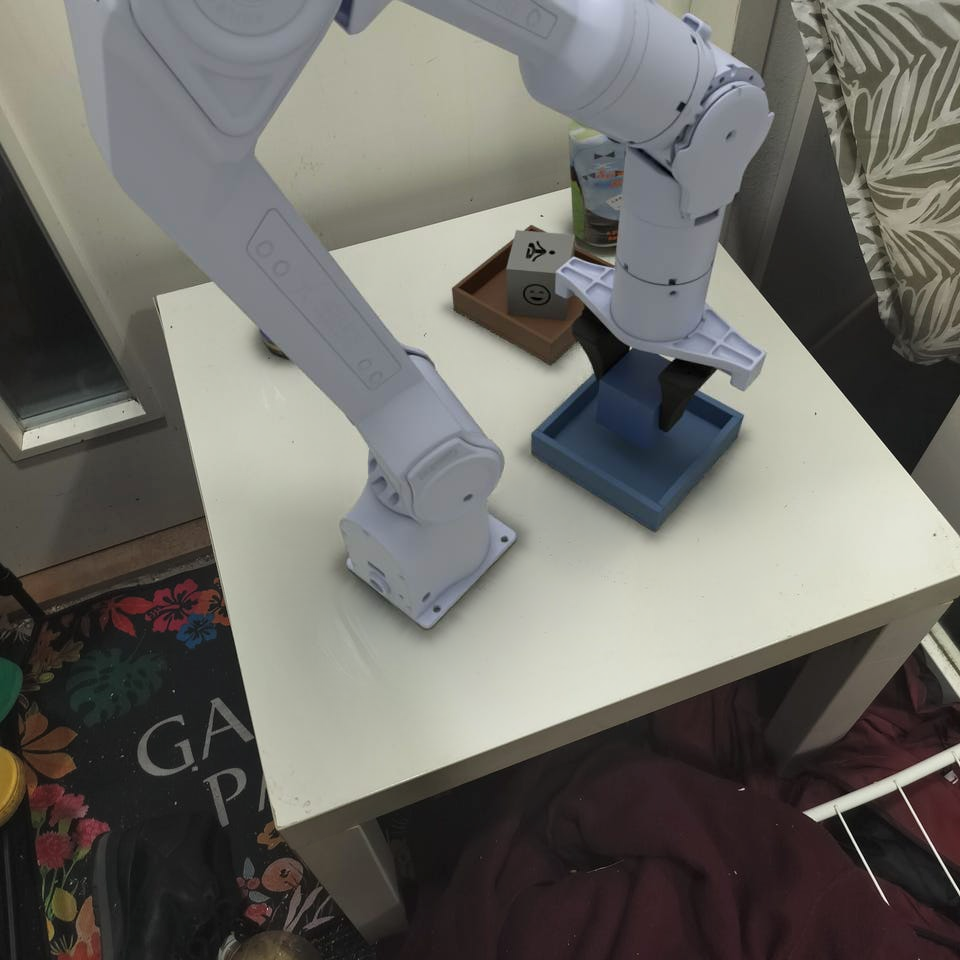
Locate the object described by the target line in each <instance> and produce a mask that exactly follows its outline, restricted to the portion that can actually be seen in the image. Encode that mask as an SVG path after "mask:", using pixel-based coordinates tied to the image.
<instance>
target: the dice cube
mask: <svg viewBox="0 0 960 960" xmlns="http://www.w3.org/2000/svg"><path fill="white" fill-rule="evenodd" d="M513 239H514V241H513V244H512V248H511V252H510V256H509V260H508V264H507V268H506V278H507V309H508V315H514V316H525V317H536V318H546V319H557V320H566V315H567V310H568V305H569V299H570V298H563V297H562V296H560V295H558V294H556V293H555V281H556V271H557V270H558V269H559V268H560V267H561V266H563V265H564V264H565V263H566V262H567V261H569V260H570V259H571V258H572V257H574V248H575V246H576V235H575V234H572V233H571V234H570V233H559V232H547V231H545V232H534V231H524V230H520V229H519V230H518V229H516V230H515V233H514V237H513Z"/></svg>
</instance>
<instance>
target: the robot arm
mask: <svg viewBox="0 0 960 960" xmlns="http://www.w3.org/2000/svg"><path fill="white" fill-rule="evenodd" d="M392 1H393V0H63V3H64V5H63V6H64V9H65V14H66V19H67V24H68V29H69V35H70V39H71V45H72V51H73V56H74V60H75V66H76V71H77V77H78V81H79V86H80V92H81V96H82V102H83V106H84V111H85V117H86V122H87V126H88V129H89V133H90V136H91V139H92V140H93V142H94V144H95V146H96V148H97V150H98V152H99V153H100V155H101V157H102V159H103V161H104V163H105V164H106V166H107V167H108V170H109V171H110V173H111V176H113V178H114V179H115V181H116V183H117V184H118V185H119V187H120V189H121V190H122V192H123V193H124V194H125V195H126V196H127V197H128V199H130V200H131V201H132V202H133V203H134V204H135V205H136V206H137V208H139V209H140V211H142V212H143V213H144V214H145V215H146V216H147V217H148V218H149V219H150V220H151V222H153V223H154V224H155V225H156V226H157V228H159V229H160V230H161V231H162V233H164V234H165V235H166V237H168V238H169V239H170V240H171V242H173V243H174V245H176V247H177V248H179V250H181V251H182V253H184V255H186V257H187V258H188V259H189V260H191V262H193V263H194V265H195V266H197V267H198V269H199V270H201V271H202V273H204V275H206V277H207V278H208V279H209V280H210V281H211V282H212V283H213V284H214V285H215V286H216V287H218V289H219V290H221V291H222V293H223V294H224V295H225V296H226V297H228V299H229V300H230V301H231V302H233V303H234V305H235V306H236V307H237V308H238V309H239V310H240V311H241V312H242V313H243V314H244V315H245V316H246V317H247V318H248V319H249V320H250V321H251V322H252V323H253V324H254V325H255V326H256V327H257V328H258V330H259V329H260V330H261V331H262V332H263V333H264V334H265V335H266V336H267V337H268V338H269V339H270V340H271V341H272V342H273V343H274V344H275V345H276V346H277V347H278V348H279V349H280V350H281V351H282V352H283V353H284V354H285V355H286V356H285V357H287V358H288V359H289V360H290V361H291V362H292V363H293V364H294V365H295V366H296V367H297V368H298V369H299V370H300V371H301V372H302V373H303V374H304V375H305V376H306V378H308V380H310V381H311V382H312V383H313V384H314V385H315V386H316V387H317V388H318V389H319V390H320V391H321V392H322V393H323V394H324V395H325V396H326V398H328V400H330V401H331V402H332V403H333V404H334V405H335V406H336V407H337V409H339V410H340V411H341V412H342V413H343V415H344V416H345V418H346V419H347V420H348V421H349V422H350V424H351V425H352V426H353V427H355V429H356V430H357V432H358V434H359V435H360V436H361V438H362V440H363V441H364V443H365V445H366V446H367V447H368V455H367V456H368V457H367V476H368V477H367V480H366V483H365V486H364V488H363V489H362V492H361V493H360V495H359V497H358V499H357V500H356V501H355V503H354V505H352V507H351V508H349V510H348V511H347V512H346V513H345V514H344V515H343V516H342V518H341V519H340V521H339V530H340V533H341V536H342V539H343V542H344V545H345V547H346V550H347V553H348V556H349V557H348V558H347V559H346V566H347V568H348V569H349V570H350V571H351V572H352V573H354V574H355V575H356V576H358V577H359V578H360V579H361V580H362V581H364V583H366V584H368V585H369V586H370V587H371V588H372V589H374V590H375V591H377V592H378V593H379V594H380V595H381V596H382V597H384V598H385V599H387V600H388V602H390V603H391V604H393V606H395V607H396V608H398V609H399V610H400V611H401V612H403V613H404V615H406V616H408V617H409V618H410V619H411V620H413V622H415V623H416V624H418V625H419V626H420V627H421V628H423V629H426V630H427V629H431V628H432V627H433V626H435V624H436V623H437V622H438V621H439V620H440V619H441V618H443V616H444V615H445V614H446V613H447V612H448V611H449V610H450V609H451V608H452V607H453V606H454V605H455V604H456V603H457V602H458V601H459V600H460V598H462V596H463V595H464V594H466V592H467V591H468V590H470V588H471V587H472V586H473V585H474V584H475V583H476V582H477V581H478V580H479V579H480V578H481V577H482V576H483V575H484V574H485V572H487V571H488V570H489V568H491V566H492V565H493V564H494V563H495V562H496V561H498V559H499V558H500V557H501V556H502V555H503V554H504V553H505V552H506V551H507V550H508V549H509V548H510V547H511V546H512V544H513V543H515V542H516V540H517V533H516V531H515V530H514V529H512V528H511V527H510V526H508V525H506V524H505V523H504V522H502V521H501V520H499V519H498V518H496V517H495V516H493V515H492V514H491V513H489V505H488V499H489V498H490V496H491V495H492V494H493V493H494V491H495V490H496V488H497V486H498V484H499V482H500V479H501V478H502V476H503V473H504V469H505V464H506V463H505V455H504V453H503V450H502V449H501V448H500V447H499V446H498V445H497V443H495V442H494V440H492V439H490V438H489V437H488V435H487V433H485V432H484V430H483V429H482V427H481V426H480V425H479V423H478V422H477V421H476V420H475V419H474V417H473V416H472V415H471V414H470V412H469V411H468V409H467V408H466V407H465V406H464V404H463V403H462V401H461V400H460V399H459V397H458V396H457V395H456V394H455V392H454V391H453V390H452V389H451V387H450V386H449V385H448V383H447V382H446V381H445V379H444V378H443V377H442V376H441V375H440V373H439V372H438V370H437V369H436V364H435V363H434V361H433V360H432V359H431V358H430V356H429V355H428V354H427V353H426V352H425V351H424V350H422V349H420V348H418V347H415V346H414V347H413V346H411V345H406V344H404V343H403V342H401V341H399V340H398V339H397V338H396V337H395V336H394V335H393V333H392V332H391V330H390V329H389V328H388V327H387V326H386V324H384V322H383V321H382V319H381V318H380V316H378V314H377V313H376V311H375V310H374V309H373V307H372V306H371V305H370V303H369V302H368V301H367V300H366V299H365V297H364V296H363V295H362V293H361V292H360V290H359V289H358V288H357V287H356V285H355V284H354V282H353V281H352V280H351V279H350V277H349V276H348V275H347V274H346V272H345V271H344V269H343V268H342V267H341V265H340V264H339V263H338V261H336V259H335V258H334V257H333V255H332V254H331V252H330V251H329V250H328V249H327V248H326V246H325V245H324V243H323V242H322V241H321V239H320V238H319V237H318V236H317V234H316V233H315V232H314V230H313V229H312V228H311V227H310V225H309V224H308V223H307V222H306V220H305V219H304V217H303V216H302V215H301V213H300V212H299V211H298V210H297V208H296V207H295V206H294V204H293V203H292V202H291V200H290V199H289V197H288V196H287V195H286V194H285V193H284V191H283V190H282V189H281V188H280V186H279V185H278V184H277V182H276V181H275V180H274V178H273V177H272V176H271V174H270V173H269V172H268V171H267V169H266V168H265V167H264V166H263V164H262V162H261V161H260V160H259V159H258V158H257V156H256V155H255V153H256V152H255V150H256V147H257V144H258V140H259V139H260V136H261V135H262V133H263V132H264V130H265V129H266V127H268V124H269V123H270V121H271V119H273V117H274V115H275V113H277V110H278V109H279V108H280V106H281V105H282V103H283V101H284V100H285V98H286V97H287V95H288V93H289V92H290V90H291V89H292V87H294V84H295V83H296V81H297V79H298V78H299V77H300V75H301V74H302V72H303V70H304V69H305V67H306V66H307V64H308V63H309V61H310V59H311V58H312V57H313V55H314V53H315V52H316V50H318V47H319V46H320V44H321V43H322V41H323V40H324V38H325V37H326V35H327V33H328V31H329V30H330V27H331V26H332V23H333V22H335V23H336V24H337V25H338V26H339V27H340V28H341V29H342V30H343V31H344V32H345V33H346V34H347V35H348V36H354V35H358V34H360V33H362V32H364V31H366V29H367V28H368V27H369V26H370V25H371V23H372V22H373V21H374V20H375V19H376V18H377V17H378V16H379V15H380V14H381V13H382V12H383V11H384V10H385V9H386V8H387V7H388V6H389V4H391V2H392ZM397 1H398V2H402V3H403V4H405V5H408V6H410V7H413V9H416V10H418V11H421V12H423V13H425V14H427V15H429V16H431V17H433V18H435V19H437V20H439V21H442V22H444V23H447V24H448V25H450V26H452V27H455V28H457V29H459V30H462V31H464V32H466V33H467V34H470V35H471V36H474V37H476V38H478V39H481V40H482V41H484V42H487V43H489V44H491V45H493V46H495V47H498V48H500V49H502V50H504V51H506V52H509V53H511V54H512V55H515V56H517V61H518V69H519V73H520V76H521V80H522V83H523V85H524V87H525V89H526V91H527V92H528V95H530V97H531V98H532V99H533V100H534V101H535V102H537V103H538V104H540V105H542V106H544V107H546V108H548V109H550V110H552V111H554V112H557V113H559V114H560V115H563V116H565V117H567V118H569V119H570V120H575V121H577V122H579V123H581V124H583V125H585V126H587V127H589V128H591V129H593V130H595V131H597V132H599V133H602V134H604V135H606V136H608V137H610V138H612V139H614V140H616V141H618V142H620V143H622V144H624V145H627V146H626V156H625V166H624V177H623V187H622V197H621V207H620V218H619V228H618V238H617V245H616V248H615V249H616V250H615V256H614V265H615V267H614V268H611V267H606V266H601V265H596V264H592V263H589V262H586V261H583V260H581V259H579V258H576V257H572V258H571V259H570V260H569V261H567V262H566V263H565V264H564V265H563V266H561V267H560V268H559V269H558V270H557V271H556V281H555V293H556V294H558V295H560V296H562V297H563V298H570V297H571V296H572V295H575V296H577V297H579V298H580V299H581V300H582V302H583V303H584V310H582V314H581V315H580V316H579V317H578V318H577V319H576V320H575V321H574V322H573V324H572V335H573V337H574V338H575V339H576V340H577V341H576V342H578V344H579V345H580V347H581V348H582V350H583V351H584V353H585V355H586V357H587V359H588V361H589V363H590V365H591V368H592V371H593V373H594V374H595V377H596V380H597V384H598V388H599V381H600V379H601V378H602V377H603V376H604V375H605V374H606V373H607V372H608V371H609V370H610V369H611V368H612V367H613V366H614V365H615V364H616V363H617V362H618V361H619V360H620V359H621V358H622V357H623V356H624V355H625V354H626V353H628V352H629V351H630V350H631V348H635V349H638V350H642V351H646V352H650V353H655V354H659V355H660V356H663V357H668V358H673V359H672V360H671V361H672V362H671V363H670V364H669V365H668V366H667V367H666V368H665V369H664V370H663V371H662V372H661V373H660V374H659V376H658V381H659V383H660V386H661V393H662V405H661V410H660V414H659V429H660V430H662V431H664V432H669V431H670V429H671V428H672V427H673V426H674V425H675V424H676V423H677V422H678V421H679V420H680V419H681V418H682V416H683V413H684V411H685V409H686V407H687V405H688V403H689V402H690V400H691V398H692V397H693V395H694V394H695V393H696V392H697V391H698V390H699V391H700V389H701V388H702V387H703V386H704V385H705V384H706V383H707V381H709V379H710V378H711V377H712V376H713V375H714V374H715V373H716V372H717V370H718V371H720V372H722V373H724V374H726V375H728V376H729V377H730V381H729V385H731V386H732V387H733V388H735V389H737V390H739V391H741V392H743V393H744V392H746V390H747V389H748V388H749V387H750V386H751V385H752V384H753V383H754V382H755V381H756V379H757V378H758V377H759V376H760V375H761V373H762V370H763V367H764V363H765V360H766V357H767V354H768V352H767V351H766V350H765V349H762V348H760V347H758V345H755V344H754V343H752V342H751V341H749V340H748V339H746V338H745V336H743V335H742V334H741V333H740V332H739V331H738V330H737V329H735V328H734V327H733V326H732V325H731V324H730V323H729V322H728V321H727V320H726V319H725V318H724V317H722V316H721V314H720V313H718V312H717V311H716V310H715V309H714V308H713V307H712V306H711V305H710V304H708V302H706V300H707V296H708V292H709V291H708V290H709V286H710V282H711V277H712V272H713V268H714V263H715V260H716V259H715V258H716V254H717V249H718V245H719V242H720V236H721V231H722V227H723V222H724V219H725V214H726V210H727V209H726V208H727V205H729V204H731V203H732V202H733V201H734V198H735V195H736V194H738V193H739V192H740V190H741V189H740V188H741V184H742V180H743V176H744V174H745V171H746V169H747V167H748V165H749V163H750V162H751V160H752V159H753V158H754V156H755V155H756V154H757V152H758V151H759V150H760V148H761V147H762V145H763V143H764V141H765V140H766V138H767V136H768V134H769V132H770V129H771V127H772V123H773V121H774V119H775V116H776V115H775V112H773V111H771V112H770V109H769V100H768V97H767V94H766V93H767V92H766V91H764V90H763V88H765V87H766V86H765V85H766V84H765V81H764V80H763V78H762V76H761V75H760V73H758V72H757V71H756V69H754V68H752V67H751V66H749V65H748V64H745V63H744V62H742V61H741V60H740V59H737V58H736V57H734V56H733V55H731V54H729V53H728V52H726V51H725V50H723V48H721V47H719V46H717V45H715V44H714V43H713V42H711V41H710V39H711V37H712V35H713V28H712V27H711V26H710V25H708V24H707V23H706V22H705V21H703V20H701V19H700V18H698V17H697V16H695V15H693V14H691V13H690V12H686V13H684V14H683V15H682V16H681V18H678V17H677V16H676V15H674V14H673V13H671V12H670V11H668V9H666V8H665V7H663V6H662V5H660V4H659V3H658V2H656V1H655V0H397ZM260 330H259V331H260ZM503 540H506V542H504V541H503ZM436 609H439V611H437V612H436V611H435V610H436Z"/></svg>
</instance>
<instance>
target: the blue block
mask: <svg viewBox="0 0 960 960" xmlns="http://www.w3.org/2000/svg"><path fill="white" fill-rule="evenodd" d="M672 361H673V360H670V359H668V358H666V357H665V356H663V355H659V354H655V353H650V352H646V351H642V350H638V349H635V348H633V347H631V348H630V351H629V352H628V353H626V354H625V355H624V356H623V357H622V358H621V359H620V360H619V361H618V362H617V363H616V364H615V365H614V366H613V367H612V368H611V369H610V370H609V371H608V372H607V373H606V374H605V375H604V376H603V377H602V378H601V379H600V381H599V392H598V403H597V413H596V422H597V423H599V424H601V425H603V426H604V427H606V428H608V429H609V430H611V431H613V432H614V433H616V434H618V435H619V436H621V437H623V438H625V439H626V440H628V441H630V442H631V443H633V444H635V445H636V446H638V447H640V448H642V449H643V450H645V451H648V450H649V449H650V448H651V447H652V446H653V445H654V444H655V442H656V441H657V440H658V439H659V438H660V437H661V436H662V435H663V434H664V433H665V432H664V431H662V430H660V429H659V414H660V410H661V405H662V393H661V386H660V383H659V381H658V376H659V374H660V373H661V372H662V371H663V370H664V369H665V368H666V367H667V366H668V365H669V364H670V363H671V362H672Z"/></svg>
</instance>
